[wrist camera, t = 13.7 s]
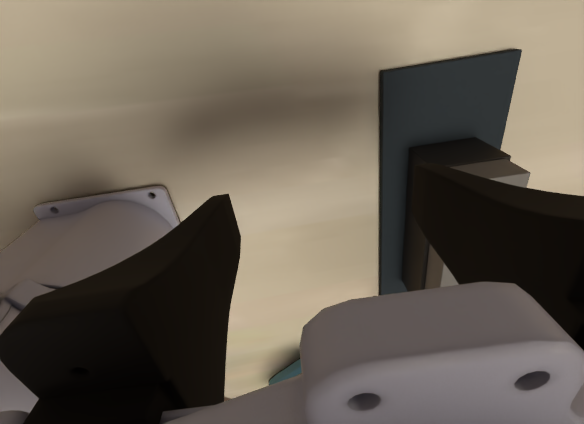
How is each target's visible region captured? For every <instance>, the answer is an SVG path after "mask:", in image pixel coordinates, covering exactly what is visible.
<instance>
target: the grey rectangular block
mask: <svg viewBox="0 0 584 424" xmlns="http://www.w3.org/2000/svg"><path fill="white" fill-rule="evenodd" d="M510 158H511V156H510V155H508V154H506V153H504V152H503V151H501V150H499V149H497V148H495V147H493V146H491V145H490V144H488V143H486V142H484V141H482V140H480V139H478V138H476V137H474V138H468V139H461V140H455V141H448V142H442V143H435V144H429V145H422V146H416V147H410V148H409V162H408V180H407V198H406V216H405V233H404V251H403V269H402V281H403V283H404V285H405V287H406V289H407V291H408V292H410V291H417V290H424V289H432V288H439V287H446V286H454V285H459V284H458V283H457V281H456V280H455V278H454V276H453V275H452V273H451V272H450V271H449V269H448V268H447V266H446V265H445V264H444V262H443V261H442V260H441V258H440V257H439V255H438V254H437V253H436V251H435V250H434V249H433V247H432V246H431V244H430V243H429V242H428V240H427V239H426V237H425V236H424V235H423V233H422V232H421V230H420V228H419V226H418V224H417V222H416V220H415V218H414V216H413V214H412V212H411V209H412V194H413V180H414V166H415V165H422V164H428V163H433V164H439V165H443V166H447V167H450V168H454V169H457V170H460V171H463V172H467V173H470V174H473V175H477V176H480V177H484V178H487V179H491V180H495V181H499V182H503V183H507V184H511V185H515V186H520V187H524V188H526V187H527V184H528V180H529V177H530V172H528V171H527V170H525V169H523V168H521V167H519V166H518V165H516V164H514V163H512V162H510Z"/></svg>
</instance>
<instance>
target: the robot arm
mask: <svg viewBox="0 0 584 424" xmlns="http://www.w3.org/2000/svg"><path fill="white" fill-rule="evenodd" d="M150 192H153V193H154V194H155V195H156V196H152V195H151V194H150ZM54 207H55V208H57V209H58V210H56V209H55V208H54ZM33 211H34V213H35V215H36V216H37V218H38V219H39V221H38V222H37V223H35V224H34V225H33V226H32V227H30V228H29V229H28V230H27V231H25V232H24V233H23V234H22V235H20V236H19V237H18V238H17V239H15V240H14V241H13V242H12V243H11V244H9V245H8V246H7V247H6V248H4V249H3V250H2V251H1V252H0V424H584V196H577V195H568V194H560V193H553V192H546V191H541V190H535V189H530V188H524V187H520V186H515V185H511V184H507V183H503V182H499V181H495V180H491V179H487V178H484V177H480V176H477V175H473V174H470V173H467V172H463V171H460V170H457V169H454V168H450V167H447V166H443V165H439V164H433V163H428V164H422V165H415V166H414V180H413V194H412V209H411V212H412V214H413V216H414V218H415V220H416V222H417V224H418V226H419V228H420V230H421V232H422V233H423V235H424V236H425V237H426V239H427V240H428V242H429V243H430V244H431V246H432V247H433V249H434V250H435V251H436V253H437V254H438V255H439V257H440V258H441V260H442V261H443V262H444V264H445V265H446V266H447V268H448V269H449V271H450V272H451V273H452V275H453V276H454V278H455V280H456V281H457V283H458V284H459V285H454V286H446V287H439V288H432V289H424V290H417V291H410V292H403V293H395V294H388V295H381V296H373V297H366V298H359V299H352V300H348V301H345V302H342V303H339V304H336V305H333V306H330V307H327V308H324V309H323V310H321V311H320V312H319V313H318V314H317V315H316V316H315V317H314V318H313V319H311V320H310V321H309V322H308V323H307V324H306V325H305V326H304V327H303V331H302V336H301V341H300V358H301V371H302V374H300V375H297V376H295V377H292V378H289V379H286V380H283V381H281V382H278V383H275V384H272V385H269V386H267V387H264V388H261V389H258V390H255V391H253V392H250V393H247V394H244V395H242V396H239V397H236V398H233V399H230V400H228V401H225V402H224V386H225V362H226V346H227V332H228V320H229V311H230V304H231V299H232V294H233V289H234V284H235V280H236V275H237V270H238V264H239V259H240V244H241V235H240V232H239V228H238V225H237V221H236V218H235V214H234V211H233V207H232V204H231V200H230V197H229V194H224V195H217V196H213V197H211V198H210V199H208V200H207V201H206V202H205V203H203V204H202V205H201V206H200V207H199V208H198V209H197V210H195V211H194V212H193V213H192V214H191V215H190V216H188V217H187V218H186V219H185V220H184V221H182V222H181V223H180V222H179V219H178V217H177V214H176V212H175V209H174V207H173V204H172V202H171V199H170V197H169V194H168V192H167V190H166V188H164V187H162V186H153V187H147V188H140V189H133V190H127V191H120V192H114V193H107V194H101V195H94V196H88V197H81V198H75V199H68V200H62V201H55V202H49V203H42V204H38V205H37V206H35V207H34V209H33Z"/></svg>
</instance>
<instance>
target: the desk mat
mask: <svg viewBox="0 0 584 424" xmlns="http://www.w3.org/2000/svg"><path fill="white" fill-rule="evenodd" d="M521 52H522V50H520V49H513V50H507V51H501V52H495V53H488V54H482V55H476V56H470V57H464V58H458V59H452V60H445V61H439V62H433V63H427V64H421V65H415V66H408V67H402V68H396V69H390V70H384V71H381V72H380V271H379V296H381V295H388V294H395V293H403V292H408V291H407V289H406V287H405V285H404V283H403V281H402V269H403V251H404V233H405V216H406V198H407V180H408V162H409V148H410V147H416V146H422V145H429V144H435V143H442V142H448V141H455V140H461V139H468V138H474V137H476V138H478V139H480V140H482V141H484V142H486V143H488V144H490V145H491V146H493V147H495V148H497V149H499V150H500V149H501V144H502V139H503V135H504V130H505V126H506V121H507V116H508V112H509V107H510V103H511V98H512V93H513V89H514V84H515V80H516V75H517V70H518V66H519V61H520V57H521Z"/></svg>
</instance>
